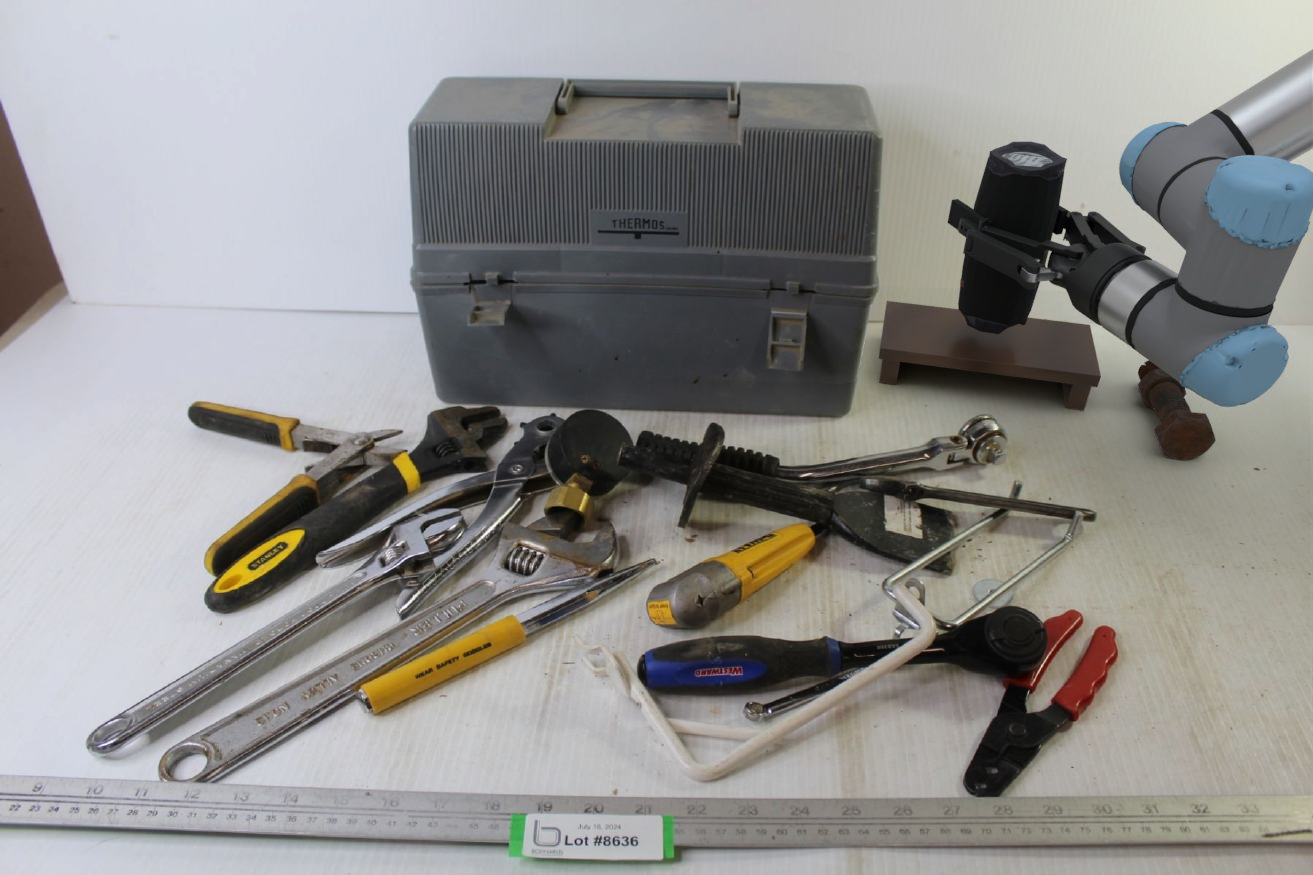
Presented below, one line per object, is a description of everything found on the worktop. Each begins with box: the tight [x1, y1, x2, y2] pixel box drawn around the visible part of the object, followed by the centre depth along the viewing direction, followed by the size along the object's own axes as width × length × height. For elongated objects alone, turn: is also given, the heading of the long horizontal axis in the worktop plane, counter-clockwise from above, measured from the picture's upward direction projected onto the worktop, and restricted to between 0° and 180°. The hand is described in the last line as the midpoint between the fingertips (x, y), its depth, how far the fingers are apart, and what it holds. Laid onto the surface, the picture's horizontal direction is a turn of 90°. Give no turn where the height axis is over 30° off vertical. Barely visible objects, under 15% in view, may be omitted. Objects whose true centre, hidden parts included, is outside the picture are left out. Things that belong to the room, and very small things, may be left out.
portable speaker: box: [957, 141, 1068, 334], centre depth 107 cm, size 9×9×20 cm
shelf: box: [878, 300, 1102, 411], centre depth 115 cm, size 24×12×5 cm, turn 75°
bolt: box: [1137, 360, 1217, 461], centre depth 107 cm, size 6×5×15 cm
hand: (989, 205), depth 109 cm, fingers closed on portable speaker, 9 cm apart
